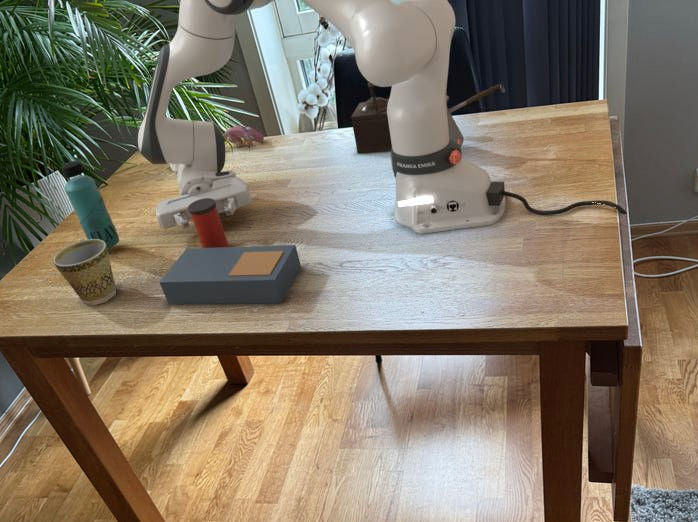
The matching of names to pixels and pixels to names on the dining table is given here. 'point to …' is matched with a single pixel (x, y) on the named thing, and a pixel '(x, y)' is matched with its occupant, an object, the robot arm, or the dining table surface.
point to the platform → (232, 275)
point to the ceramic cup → (87, 270)
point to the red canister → (208, 223)
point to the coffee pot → (452, 126)
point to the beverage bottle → (89, 205)
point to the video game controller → (243, 135)
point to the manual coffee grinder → (372, 125)
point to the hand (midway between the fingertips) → (207, 218)
